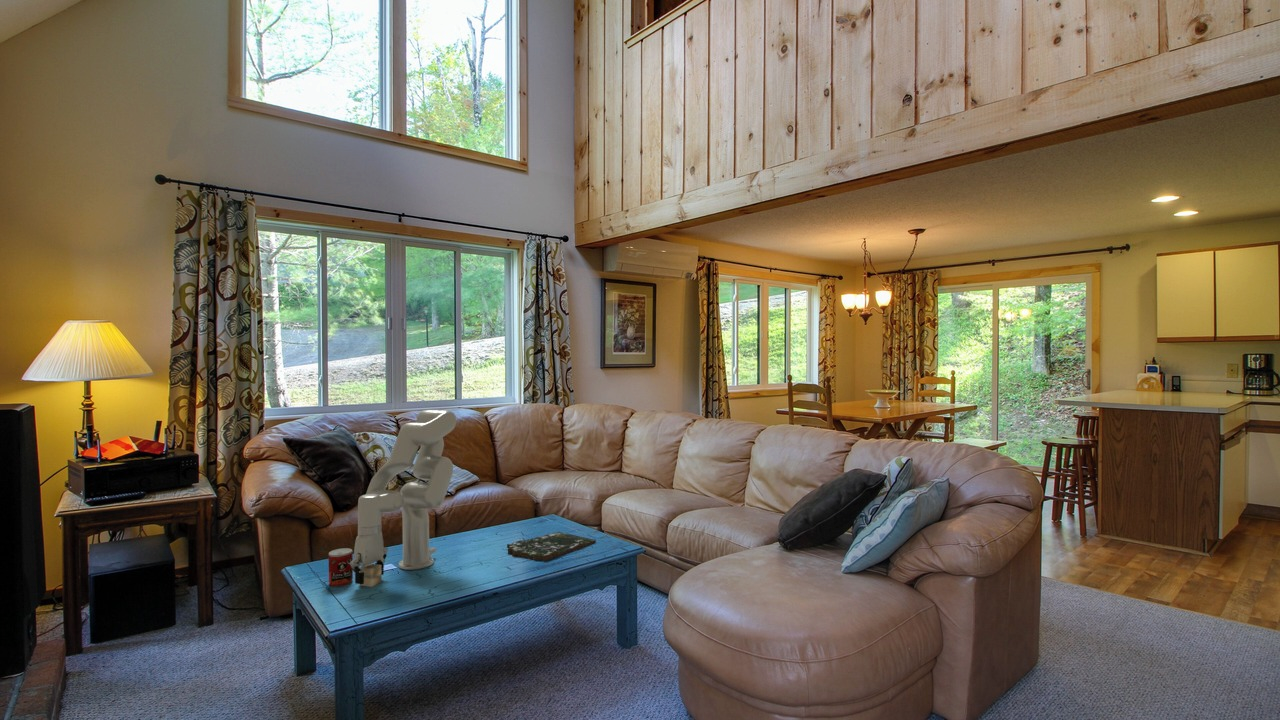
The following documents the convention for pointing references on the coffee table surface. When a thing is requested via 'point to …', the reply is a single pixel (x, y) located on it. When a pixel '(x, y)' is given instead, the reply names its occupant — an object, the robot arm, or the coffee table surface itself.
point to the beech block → (372, 575)
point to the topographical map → (548, 546)
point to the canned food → (340, 567)
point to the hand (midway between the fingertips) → (369, 578)
